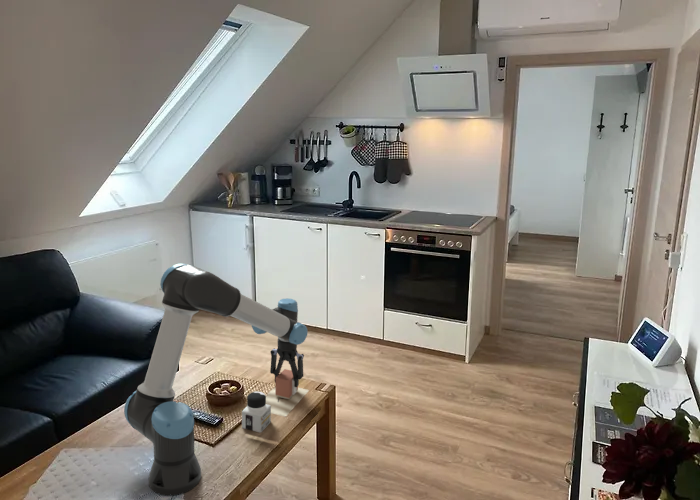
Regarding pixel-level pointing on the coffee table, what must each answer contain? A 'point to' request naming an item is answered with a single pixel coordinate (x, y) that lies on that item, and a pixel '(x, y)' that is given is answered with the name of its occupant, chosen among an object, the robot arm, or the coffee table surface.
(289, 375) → the block
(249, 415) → the container
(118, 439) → the coffee table surface
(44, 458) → the coffee table surface
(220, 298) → the robot arm
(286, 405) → the board
